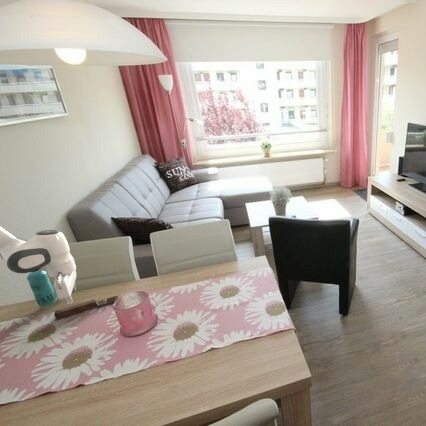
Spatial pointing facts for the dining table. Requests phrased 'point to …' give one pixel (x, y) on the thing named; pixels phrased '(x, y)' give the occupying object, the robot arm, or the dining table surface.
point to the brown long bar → (83, 307)
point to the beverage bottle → (41, 287)
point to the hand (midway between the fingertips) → (72, 297)
